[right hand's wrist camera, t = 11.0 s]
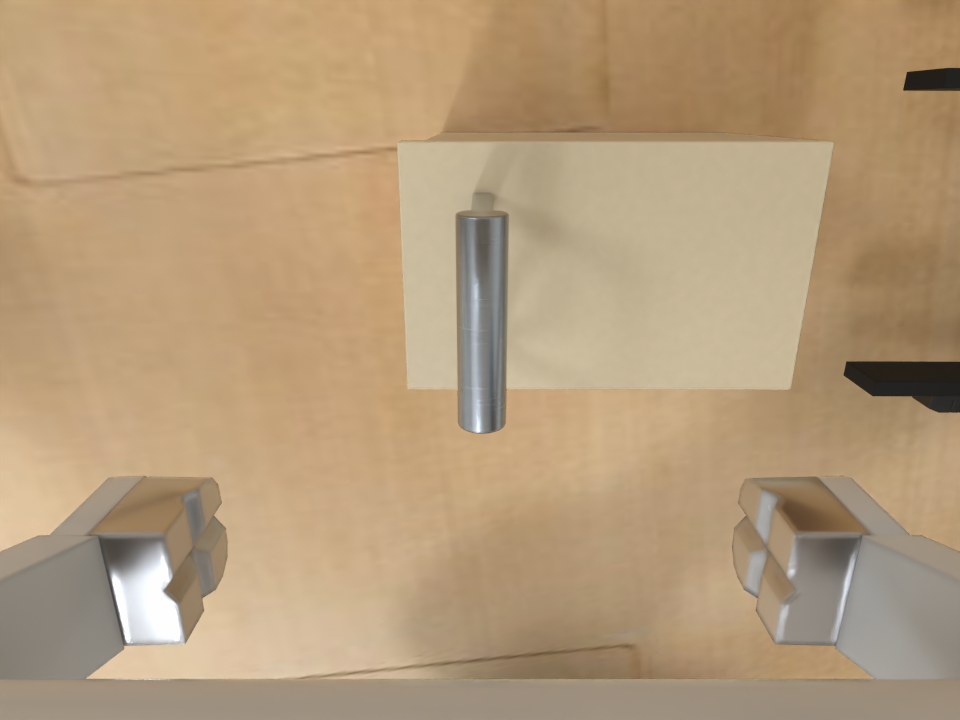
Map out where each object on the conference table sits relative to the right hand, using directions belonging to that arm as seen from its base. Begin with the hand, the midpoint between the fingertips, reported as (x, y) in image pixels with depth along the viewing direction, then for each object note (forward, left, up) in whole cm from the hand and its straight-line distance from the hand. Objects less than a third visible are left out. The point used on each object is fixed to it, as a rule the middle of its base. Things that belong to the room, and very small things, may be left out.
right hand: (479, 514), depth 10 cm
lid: (+3, +4, -17) cm, 18 cm away
